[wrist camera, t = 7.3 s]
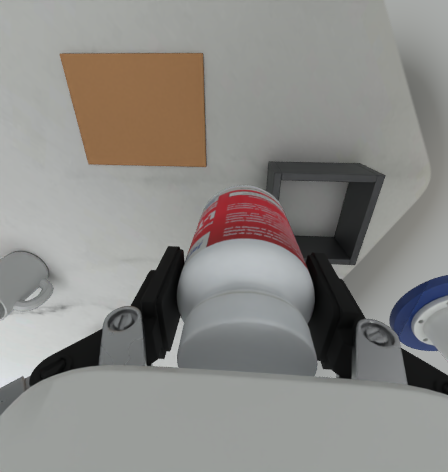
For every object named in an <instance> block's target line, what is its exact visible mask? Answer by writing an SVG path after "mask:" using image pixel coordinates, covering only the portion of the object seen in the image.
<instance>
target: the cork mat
mask: <svg viewBox="0 0 448 472" xmlns="http://www.w3.org/2000/svg"><path fill="white" fill-rule="evenodd" d="M60 57H61V61H62V65H63V69H64V72H65V76H66V80H67V84H68V88H69V91H70V95H71V99H72V103H73V107H74V110H75V114H76V118H77V122H78V126H79V129H80V133H81V137H82V141H83V145H84V148H85V152H86V156H87V160H88V164H100V165H145V166H189V167H206V139H205V103H204V67H203V53H121V54H60Z"/></svg>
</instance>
